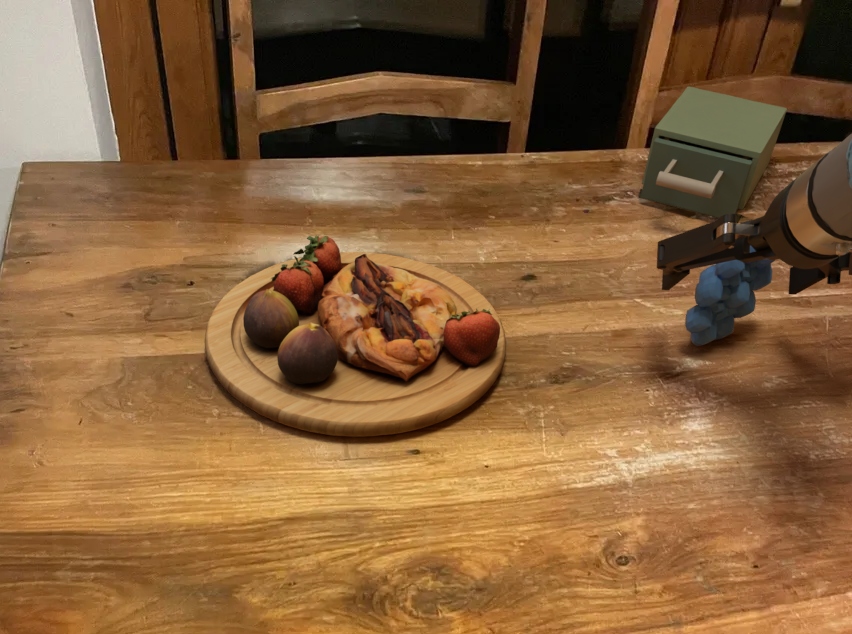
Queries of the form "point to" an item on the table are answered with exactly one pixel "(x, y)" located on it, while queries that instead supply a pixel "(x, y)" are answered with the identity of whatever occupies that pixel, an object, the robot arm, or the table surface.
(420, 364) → the wooden plate
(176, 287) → the table surface
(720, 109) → the cabinet
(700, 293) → the grapes
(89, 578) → the table surface
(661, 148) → the drawer
